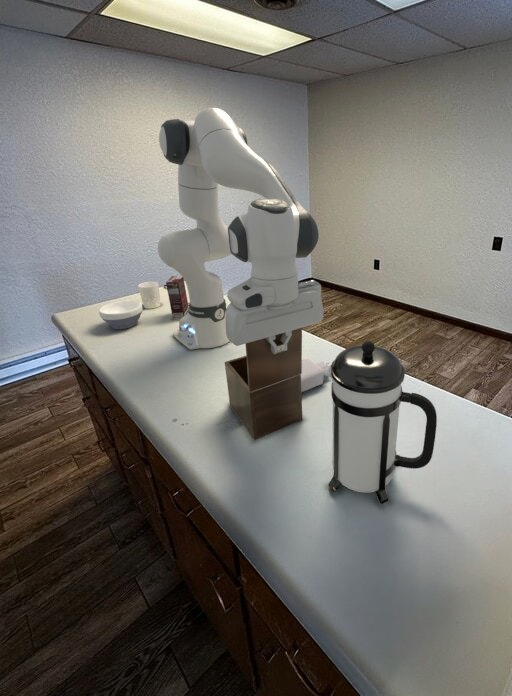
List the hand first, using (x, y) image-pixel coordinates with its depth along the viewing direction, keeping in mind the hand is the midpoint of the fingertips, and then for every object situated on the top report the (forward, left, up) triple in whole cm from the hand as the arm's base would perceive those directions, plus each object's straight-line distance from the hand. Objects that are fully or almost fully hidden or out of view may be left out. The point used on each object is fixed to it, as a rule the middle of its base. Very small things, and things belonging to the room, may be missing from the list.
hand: (279, 351), depth 74 cm
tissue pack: (-10, +21, -22) cm, 32 cm away
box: (-10, +3, -22) cm, 24 cm away
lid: (-2, +1, -1) cm, 2 cm away
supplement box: (-82, +27, -22) cm, 89 cm away
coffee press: (+21, +1, -22) cm, 31 cm away
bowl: (-92, +9, -22) cm, 95 cm away
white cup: (-102, +26, -22) cm, 107 cm away
